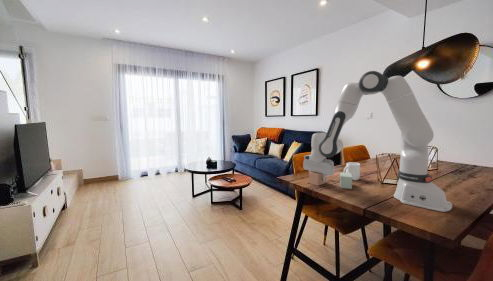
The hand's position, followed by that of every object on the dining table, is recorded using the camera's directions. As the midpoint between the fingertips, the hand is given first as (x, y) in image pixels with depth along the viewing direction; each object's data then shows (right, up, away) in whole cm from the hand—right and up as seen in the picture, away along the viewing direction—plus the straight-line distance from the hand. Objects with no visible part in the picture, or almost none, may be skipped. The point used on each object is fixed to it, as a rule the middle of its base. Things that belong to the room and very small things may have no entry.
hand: (317, 179), depth 136 cm
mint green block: (+15, -3, -6) cm, 16 cm away
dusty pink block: (0, -3, 0) cm, 3 cm away
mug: (+24, -2, +8) cm, 26 cm away
